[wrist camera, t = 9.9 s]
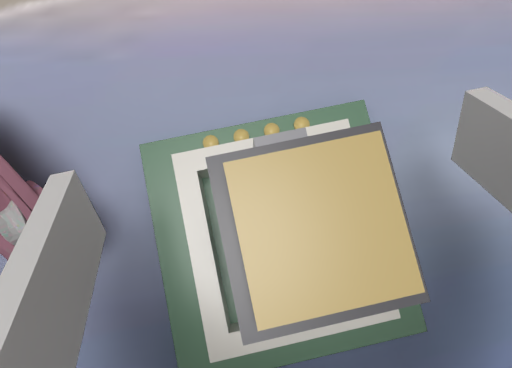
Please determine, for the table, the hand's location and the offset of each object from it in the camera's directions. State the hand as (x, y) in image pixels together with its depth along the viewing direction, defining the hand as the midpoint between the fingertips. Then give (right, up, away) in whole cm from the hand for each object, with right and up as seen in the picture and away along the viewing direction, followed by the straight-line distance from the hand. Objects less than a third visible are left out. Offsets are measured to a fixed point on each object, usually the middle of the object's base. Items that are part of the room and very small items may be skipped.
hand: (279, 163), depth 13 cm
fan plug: (0, -3, +6) cm, 7 cm away
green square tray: (0, -3, +6) cm, 7 cm away
